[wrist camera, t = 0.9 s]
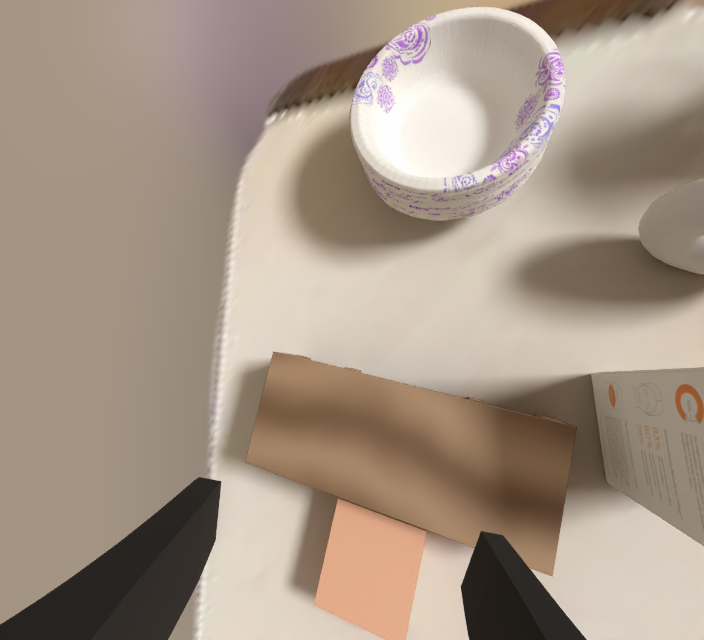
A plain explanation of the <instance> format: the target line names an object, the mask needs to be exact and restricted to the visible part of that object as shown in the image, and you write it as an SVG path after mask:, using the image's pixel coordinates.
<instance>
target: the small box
mask: <svg viewBox="0 0 704 640" xmlns="http://www.w3.org/2000/svg"><path fill="white" fill-rule="evenodd" d="M591 377H592V384H593V392H594V399H595V406H596V413H597V420H598V427H599V435H600V442H601V448H602V455H603V462H604V468H605V475H606V481H607V483H608V484H610V485H612V486H613V487H614V488H616V489H618V490H619V491H621V492H622V493H624V494H625V495H627V496H628V497H630V498H631V499H633V500H634V501H636V502H637V503H639V504H640V505H642V506H643V507H645V508H646V509H648V510H649V511H651V512H652V513H654V514H656V515H657V516H659V517H660V518H662V519H663V520H665V521H666V522H668V523H669V524H671V525H673V526H674V527H676V528H677V529H679V530H680V531H682V532H683V533H685V534H686V535H688V536H689V537H691V538H692V539H694V540H695V541H697V542H698V543H700V544H701V545H703V546H704V367H700V368H683V369H661V370H640V371H616V372H599V373H593V374H592V375H591Z"/></svg>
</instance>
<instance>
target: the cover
mask: <svg viewBox="0 0 704 640" xmlns="http://www.w3.org/2000/svg"><path fill="white" fill-rule="evenodd" d="M426 533H427V530H426V529H423V528H420V527H418V526H415V525H412V524H410V523H407V522H404V521H401V520H399V519H396V518H393V517H391V516H388V515H385V514H383V513H380V512H377V511H375V510H372V509H369V508H367V507H364V506H361V505H358V504H356V503H353V502H350V501H348V500H345V499H342V498H340V497H339V498H338V500H337V505H336V509H335V514H334V518H333V523H332V527H331V531H330V536H329V540H328V545H327V549H326V554H325V558H324V562H323V567H322V571H321V576H320V580H319V585H318V589H317V593H316V598H315V602H314V605H315V606H317V607H319V608H321V609H323V610H325V611H327V612H330V613H332V614H334V615H336V616H338V617H340V618H342V619H344V620H346V621H348V622H350V623H352V624H354V625H356V626H358V627H360V628H363V629H365V630H367V631H369V632H371V633H373V634H375V635H377V636H379V637H381V638H383V639H385V640H405V639H406V634H407V629H408V624H409V619H410V614H411V609H412V604H413V599H414V594H415V589H416V584H417V579H418V574H419V569H420V564H421V558H422V553H423V548H424V543H425V538H426Z"/></svg>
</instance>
